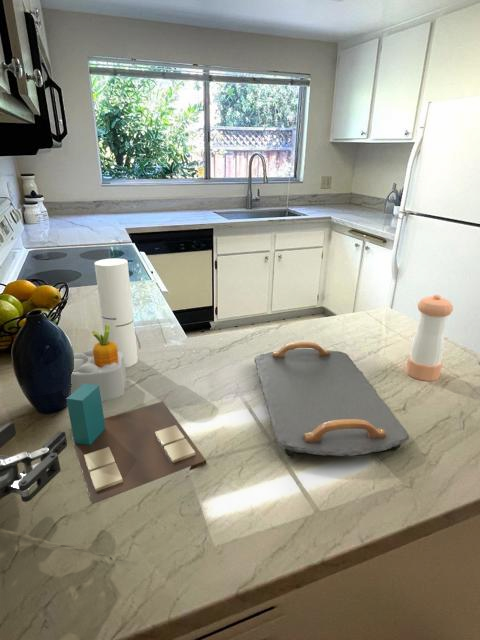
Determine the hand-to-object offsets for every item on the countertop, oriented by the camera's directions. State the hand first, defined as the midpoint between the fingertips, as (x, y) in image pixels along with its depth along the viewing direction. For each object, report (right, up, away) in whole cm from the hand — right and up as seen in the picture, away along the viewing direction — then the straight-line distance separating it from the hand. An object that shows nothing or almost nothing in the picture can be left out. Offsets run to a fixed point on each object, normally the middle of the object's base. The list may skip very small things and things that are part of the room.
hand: (37, 432), depth 58 cm
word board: (+11, -6, +12) cm, 17 cm away
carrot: (+1, +1, +28) cm, 28 cm away
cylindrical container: (0, +6, +42) cm, 42 cm away
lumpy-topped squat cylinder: (-2, +1, +28) cm, 29 cm away
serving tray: (+45, -1, +25) cm, 52 cm away
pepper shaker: (+72, +4, +36) cm, 80 cm away
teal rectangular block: (+3, -4, +13) cm, 14 cm away
